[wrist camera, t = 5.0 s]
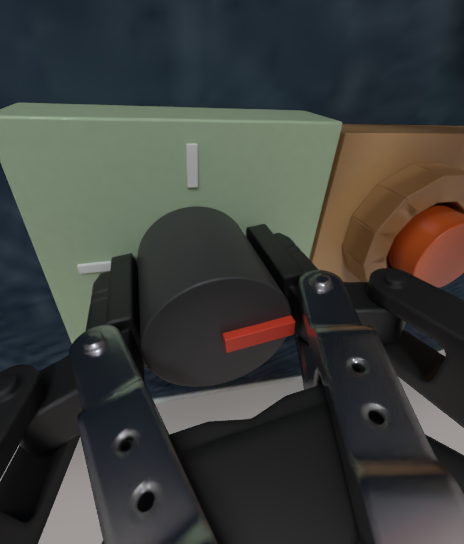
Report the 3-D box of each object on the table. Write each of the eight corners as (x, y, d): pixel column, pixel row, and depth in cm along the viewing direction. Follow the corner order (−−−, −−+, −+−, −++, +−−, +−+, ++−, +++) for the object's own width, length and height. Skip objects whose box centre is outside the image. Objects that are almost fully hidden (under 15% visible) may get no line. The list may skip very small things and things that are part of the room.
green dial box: (85, 315, 16) (76, 363, 13) (15, 102, 10) (-23, 116, 7) (273, 288, 18) (295, 324, 16) (304, 110, 13) (347, 122, 10)
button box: (285, 281, 18) (317, 326, 15) (317, 123, 13) (375, 143, 10) (406, 264, 21) (455, 300, 18) (474, 125, 16) (559, 142, 12)
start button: (376, 273, 15) (401, 295, 13) (404, 206, 13) (437, 224, 11) (431, 265, 16) (460, 285, 14) (466, 202, 14) (504, 218, 12)
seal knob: (152, 308, 13) (161, 411, 9) (122, 217, 10) (119, 310, 6) (247, 285, 14) (292, 371, 10) (243, 196, 11) (302, 267, 7)
